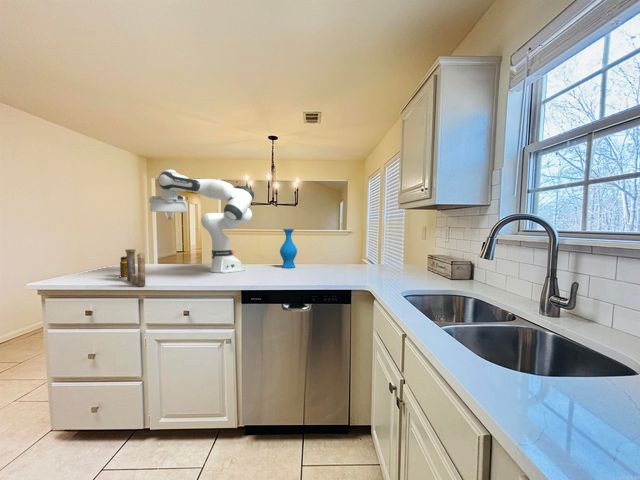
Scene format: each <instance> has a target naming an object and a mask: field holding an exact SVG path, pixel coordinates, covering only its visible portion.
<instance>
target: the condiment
mask: <svg viewBox="0 0 640 480" xmlns="http://www.w3.org/2000/svg"><path fill="white" fill-rule="evenodd" d="M119 266H120V267H119V268H120V273H119V274H120V276H121V277H127V255H125V256H121V257H120V262H119ZM117 276H118V275H116V277H117ZM116 277H115V278H116Z"/></svg>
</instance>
